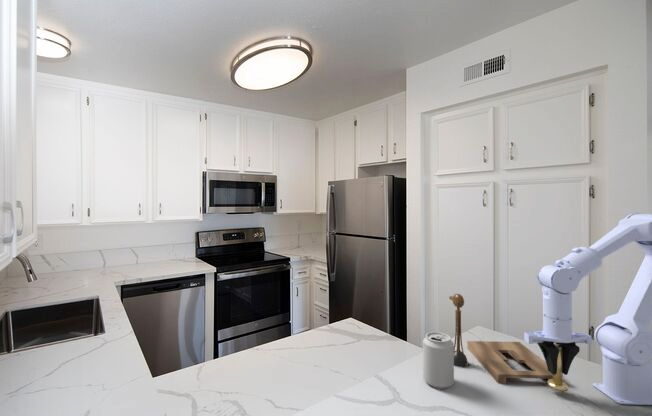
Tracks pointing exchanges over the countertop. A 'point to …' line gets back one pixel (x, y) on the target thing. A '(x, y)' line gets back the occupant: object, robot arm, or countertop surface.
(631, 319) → the robot arm
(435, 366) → the can
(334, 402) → the countertop surface
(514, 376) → the keyhole plate
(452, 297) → the wooden tabletop sculpture
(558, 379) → the peg
